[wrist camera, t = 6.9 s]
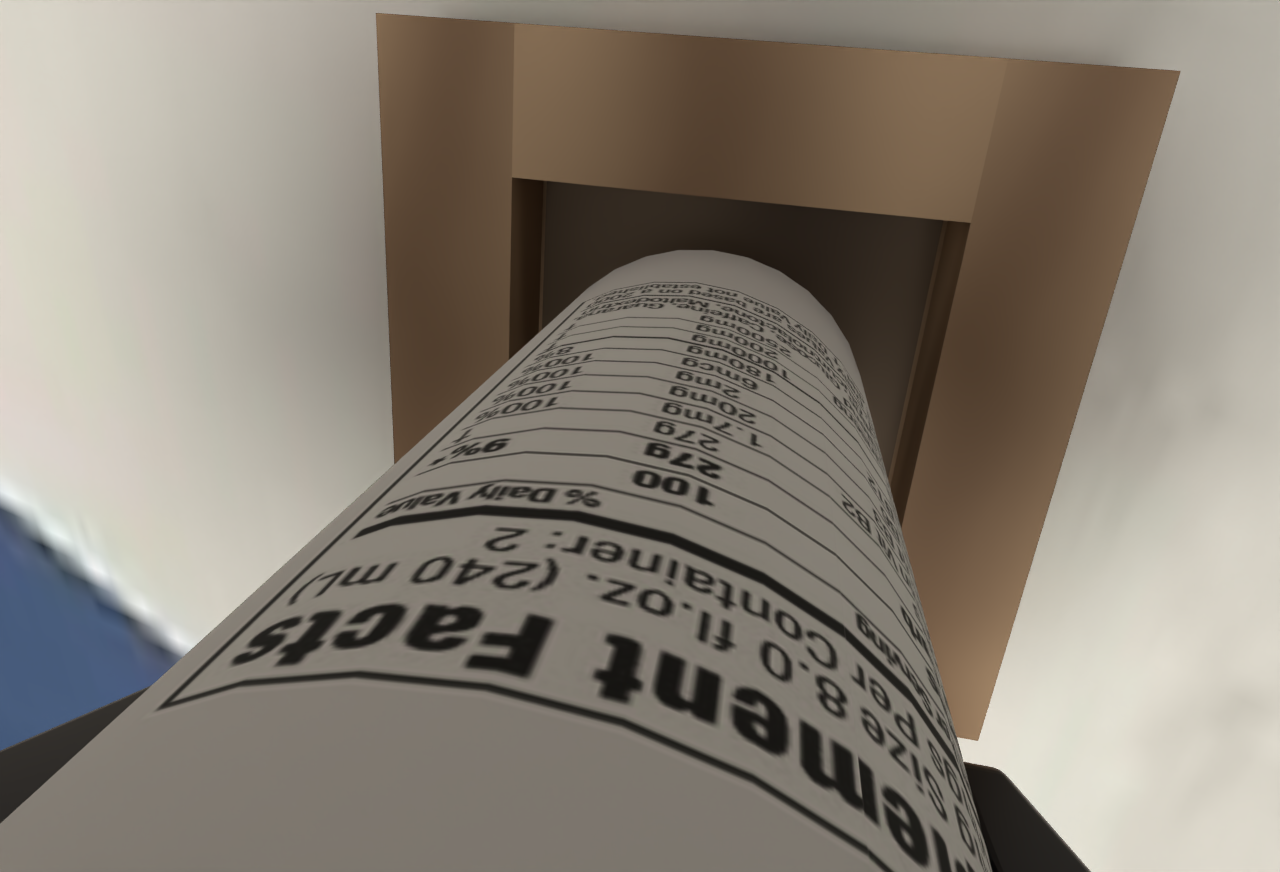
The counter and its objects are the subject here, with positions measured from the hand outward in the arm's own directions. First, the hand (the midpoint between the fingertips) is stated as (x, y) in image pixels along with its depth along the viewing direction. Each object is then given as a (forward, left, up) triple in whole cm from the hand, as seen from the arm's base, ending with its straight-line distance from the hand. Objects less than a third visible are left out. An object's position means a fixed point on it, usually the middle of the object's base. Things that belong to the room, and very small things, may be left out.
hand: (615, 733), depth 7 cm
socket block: (0, 0, -12) cm, 12 cm away
